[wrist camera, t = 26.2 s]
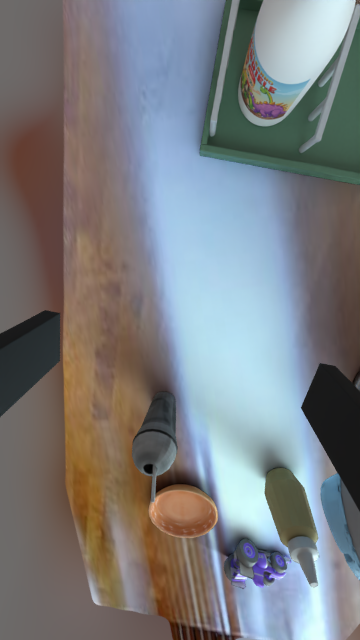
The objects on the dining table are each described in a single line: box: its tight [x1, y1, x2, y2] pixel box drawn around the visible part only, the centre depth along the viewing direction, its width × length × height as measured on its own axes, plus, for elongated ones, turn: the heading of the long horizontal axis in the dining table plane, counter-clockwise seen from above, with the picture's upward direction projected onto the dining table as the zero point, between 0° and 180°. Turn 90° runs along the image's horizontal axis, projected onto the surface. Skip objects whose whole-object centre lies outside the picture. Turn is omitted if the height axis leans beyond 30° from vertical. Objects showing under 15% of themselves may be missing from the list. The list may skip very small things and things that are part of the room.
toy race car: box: [224, 539, 291, 589], centre depth 62 cm, size 10×15×6 cm, turn 68°
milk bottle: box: [238, 0, 356, 126], centre depth 23 cm, size 8×8×20 cm
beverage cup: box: [132, 392, 178, 503], centre depth 42 cm, size 7×7×20 cm
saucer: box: [149, 484, 218, 538], centre depth 59 cm, size 16×16×3 cm
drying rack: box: [200, 0, 360, 185], centre depth 30 cm, size 27×16×6 cm, turn 80°
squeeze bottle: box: [265, 468, 319, 587], centre depth 47 cm, size 8×8×18 cm
